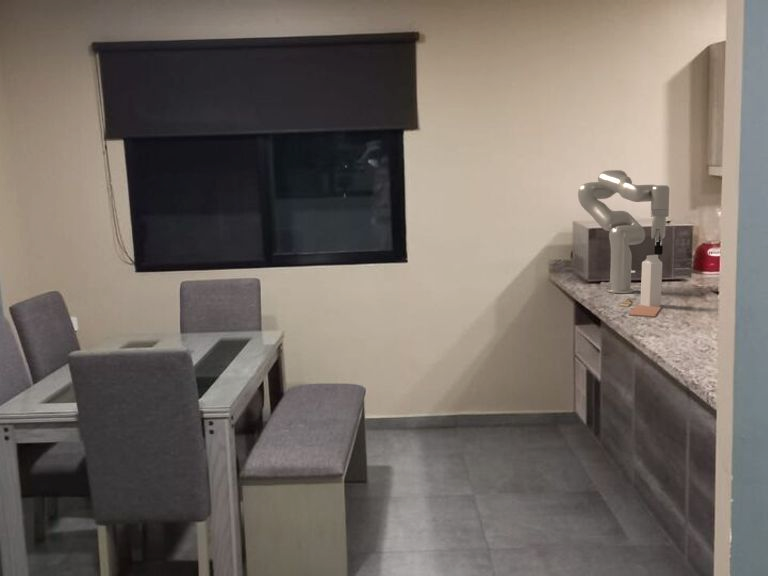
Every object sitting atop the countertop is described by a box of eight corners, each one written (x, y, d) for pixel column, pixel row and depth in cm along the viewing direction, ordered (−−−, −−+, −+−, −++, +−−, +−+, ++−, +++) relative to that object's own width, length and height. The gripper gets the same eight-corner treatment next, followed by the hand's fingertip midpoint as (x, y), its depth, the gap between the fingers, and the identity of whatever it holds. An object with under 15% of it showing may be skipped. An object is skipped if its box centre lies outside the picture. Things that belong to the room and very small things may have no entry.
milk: (640, 305, 329) (641, 254, 325) (651, 303, 331) (653, 253, 327) (649, 307, 323) (651, 256, 320) (661, 306, 325) (662, 255, 322)
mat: (628, 315, 308) (628, 314, 307) (636, 306, 325) (636, 305, 325) (654, 317, 303) (654, 315, 303) (661, 308, 321) (661, 306, 320)
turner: (628, 307, 325) (628, 305, 325) (619, 306, 326) (619, 304, 326) (633, 301, 338) (633, 298, 338) (625, 300, 339) (625, 298, 339)
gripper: (653, 212, 344) (652, 252, 347) (648, 214, 331) (647, 256, 333) (670, 212, 340) (669, 252, 343) (666, 214, 327) (665, 256, 330)
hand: (658, 254), depth 338 cm, fingers closed
